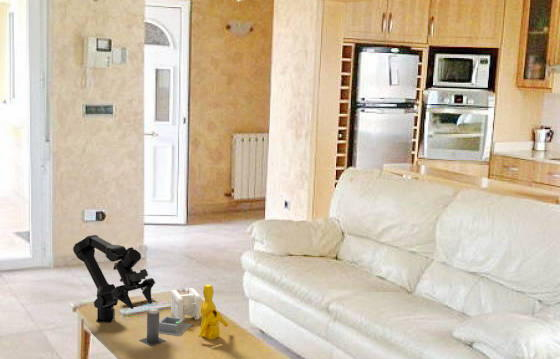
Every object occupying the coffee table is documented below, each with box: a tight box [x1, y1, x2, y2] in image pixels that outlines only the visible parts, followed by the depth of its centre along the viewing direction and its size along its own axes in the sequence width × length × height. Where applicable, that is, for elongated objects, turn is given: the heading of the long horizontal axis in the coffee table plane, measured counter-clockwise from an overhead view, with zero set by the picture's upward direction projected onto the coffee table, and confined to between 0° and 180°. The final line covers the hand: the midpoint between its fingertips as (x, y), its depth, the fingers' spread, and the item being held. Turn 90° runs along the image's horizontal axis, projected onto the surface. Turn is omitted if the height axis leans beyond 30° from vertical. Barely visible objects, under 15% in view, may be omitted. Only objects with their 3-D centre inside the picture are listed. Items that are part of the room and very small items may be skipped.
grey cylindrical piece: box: [146, 308, 160, 343], centre depth 275 cm, size 5×5×13 cm
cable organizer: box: [170, 287, 201, 321], centre depth 304 cm, size 15×11×12 cm
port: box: [159, 315, 193, 337], centre depth 290 cm, size 14×14×4 cm
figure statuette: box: [198, 284, 229, 340], centre depth 283 cm, size 18×8×22 cm, turn 142°
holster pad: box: [138, 337, 167, 347], centre depth 276 cm, size 8×8×1 cm
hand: (141, 305), depth 279 cm, fingers open, 9 cm apart
